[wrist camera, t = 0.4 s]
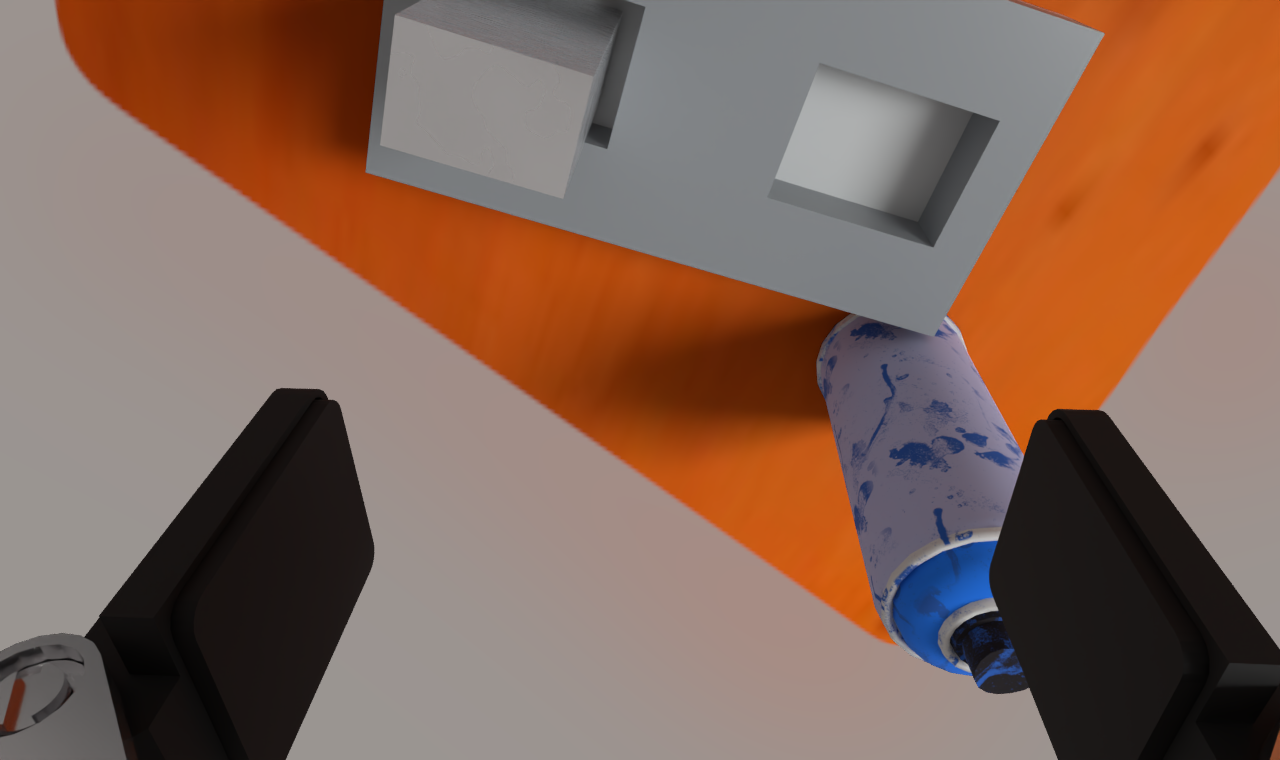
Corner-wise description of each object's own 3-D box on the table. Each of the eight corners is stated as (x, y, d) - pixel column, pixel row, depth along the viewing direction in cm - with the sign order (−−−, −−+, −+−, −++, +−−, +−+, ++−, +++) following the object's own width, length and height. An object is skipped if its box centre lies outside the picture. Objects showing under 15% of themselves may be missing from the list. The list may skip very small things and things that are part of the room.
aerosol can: (831, 436, 47) (906, 758, 30) (802, 320, 43) (870, 617, 27) (972, 404, 46) (1135, 728, 29) (955, 281, 42) (1132, 572, 25)
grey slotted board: (435, -199, 32) (405, -204, 29) (1065, 15, 35) (1104, 33, 31) (393, 145, 39) (365, 172, 36) (914, 298, 42) (933, 336, 39)
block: (483, -34, 34) (394, 15, 24) (622, 11, 35) (593, 76, 25) (467, 63, 36) (379, 145, 26) (599, 103, 37) (563, 198, 27)
